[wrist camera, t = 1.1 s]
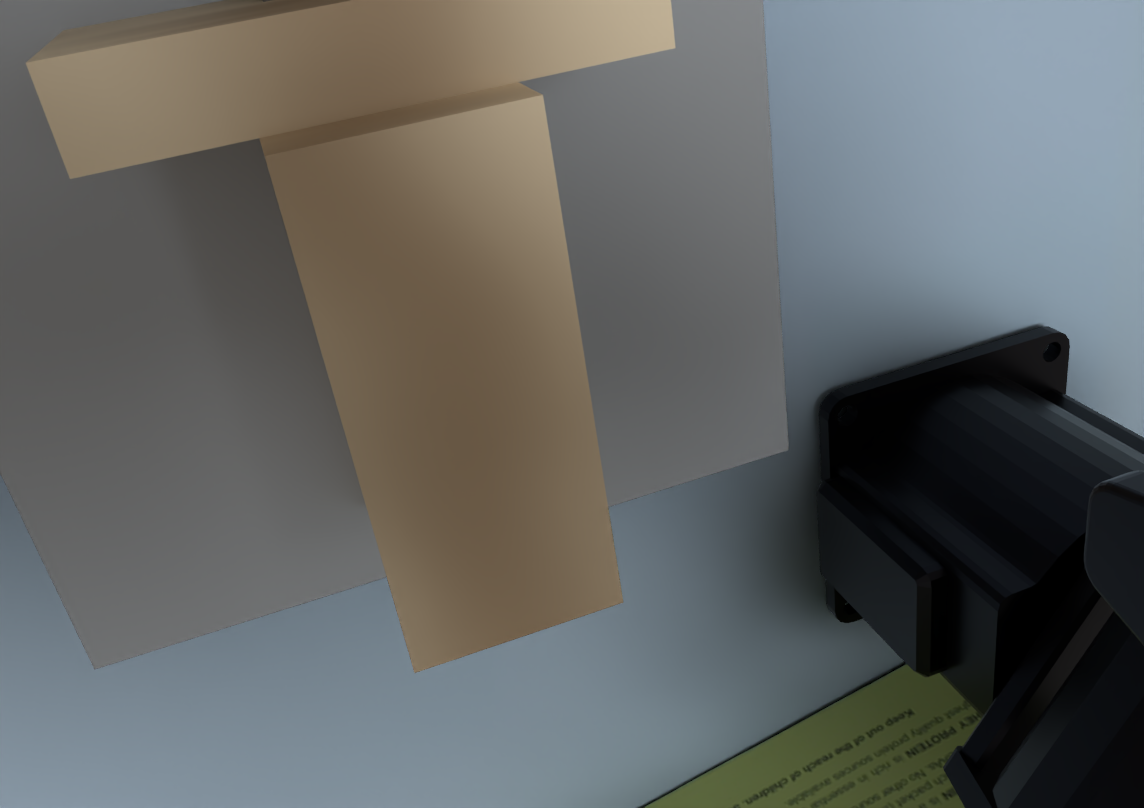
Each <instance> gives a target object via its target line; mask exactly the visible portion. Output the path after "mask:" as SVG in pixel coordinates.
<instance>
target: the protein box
mask: <svg viewBox="0 0 1144 808" xmlns="http://www.w3.org/2000/svg"><path fill="white" fill-rule="evenodd" d="M981 719H982V716H981V715H980V714H979V713H978V712H977V711H976V710H975V709H974V708H973V707H972V706H971V705H970V704H969V703H968V702H967V701H966V700H965V699H964V698H963V697H962V696H961V695H960V694H959V693H958V692H957V691H956V690H955V689H954V688H953V687H952V686H951V684H950V683H949V682H948V681H947V680H946V679H945V678H944V677H943V676H942V675H941V674H940V673H938V674H935V675H932V676H930V677H924V676H922V675H920V674H918V673H916V672H915V671H913V670H912V669H911V668H910V667H909V666H908V665H907V664H906V665H904V666H902V667H900V668H898V669H897V670H895V671H893V672H891V673H889V674H887V675H885V676H884V677H882V678H880V679H878V680H877V681H875V682H873V683H871V684H870V685H868V686H866V687H864V688H862V689H860V690H858V691H856V692H854V693H853V694H851V695H849V696H847V697H845V698H843V699H842V700H840V701H838V702H836V703H834V704H832V705H831V706H829V707H827V708H825V709H823V710H821V711H820V712H818V713H816V714H814V715H812V716H810V717H809V718H807V719H805V720H803V721H801V722H799V723H798V724H796V725H794V726H792V727H790V728H789V729H787V730H785V731H783V732H781V733H779V734H778V735H776V736H774V737H772V738H770V739H768V740H767V741H765V742H763V743H761V744H759V745H757V746H755V747H753V748H752V749H750V750H748V751H746V752H744V753H742V754H740V755H738V756H736V757H735V758H733V759H731V760H729V761H727V762H725V763H724V764H722V765H720V766H718V767H716V768H714V769H712V770H711V771H709V772H707V773H705V774H703V775H701V776H700V777H698V778H696V779H694V780H692V781H691V782H689V783H687V784H685V785H683V786H682V787H680V788H678V789H676V790H675V791H673V792H671V793H669V794H667V795H666V796H664V797H662V798H660V799H658V800H656V801H655V802H653V803H651V804H649V805H647V806H645V807H644V808H965V807H964V805H963V803H962V802H961V800H960V798H959V796H958V794H957V793H956V791H955V789H954V787H953V786H952V784H951V782H950V780H949V778H948V777H947V775H946V773H945V771H944V769H943V766H944V765H945V763H946V762H947V760H948V759H949V757H950V756H951V754H952V753H953V751H954V750H955V748H956V747H957V746H963V745H964V744H965V742H966V741H967V739H968V738H969V736H970V735H971V733H972V732H973V730H974V729H975V727H976V726H977V724H978V723H979V721H980V720H981Z"/></svg>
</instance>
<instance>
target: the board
mask: <svg viewBox="0 0 1144 808" xmlns="http://www.w3.org/2000/svg"><path fill="white" fill-rule="evenodd" d="M218 1H223V0H0V474H1V476H2V478H3V480H4V482H5V484H6V486H7V488H8V490H9V493H10V495H11V497H12V499H13V501H14V503H15V505H16V507H17V509H18V511H19V513H20V515H21V517H22V520H23V522H24V524H25V526H26V528H27V530H28V532H29V534H30V536H31V538H32V540H33V542H34V544H35V547H36V549H37V551H38V553H39V555H40V557H41V559H42V561H43V563H44V565H45V567H46V569H47V571H48V574H49V576H50V578H51V580H52V582H53V584H54V586H55V588H56V590H57V592H58V594H59V596H60V598H61V601H62V603H63V605H64V607H65V609H66V611H67V613H68V615H69V617H70V619H71V621H72V623H73V625H74V628H75V630H76V632H77V634H78V636H79V638H80V640H81V642H82V644H83V646H84V648H85V650H86V653H87V655H88V657H89V659H90V661H91V663H92V665H93V667H94V669H98V668H101V667H104V666H107V665H110V664H113V663H117V662H120V661H123V660H126V659H129V658H132V657H136V656H139V655H142V654H145V653H148V652H151V651H155V650H158V649H161V648H164V647H167V646H170V645H174V644H177V643H180V642H183V641H186V640H189V639H193V638H196V637H199V636H202V635H205V634H208V633H212V632H215V631H218V630H221V629H224V628H227V627H231V626H234V625H237V624H240V623H243V622H246V621H250V620H253V619H256V618H259V617H262V616H265V615H269V614H272V613H275V612H278V611H281V610H284V609H288V608H291V607H294V606H297V605H300V604H303V603H307V602H310V601H313V600H316V599H319V598H322V597H326V596H329V595H332V594H335V593H338V592H341V591H344V590H348V589H351V588H354V587H357V586H360V585H363V584H367V583H370V582H373V581H376V580H379V579H382V578H386V577H387V576H386V573H385V569H384V566H383V563H382V559H381V556H380V552H379V549H378V545H377V542H376V539H375V535H374V532H373V528H372V525H371V521H370V518H369V515H368V511H367V508H366V504H365V501H364V497H363V494H362V490H361V487H360V484H359V480H358V477H357V473H356V470H355V466H354V463H353V459H352V456H351V453H350V449H349V446H348V442H347V439H346V435H345V432H344V428H343V425H342V422H341V418H340V415H339V411H338V408H337V404H336V401H335V397H334V394H333V391H332V387H331V384H330V380H329V377H328V373H327V370H326V366H325V363H324V360H323V356H322V353H321V349H320V346H319V342H318V339H317V335H316V332H315V329H314V325H313V322H312V318H311V315H310V311H309V308H308V304H307V301H306V298H305V294H304V291H303V287H302V284H301V280H300V277H299V273H298V270H297V267H296V263H295V260H294V256H293V253H292V249H291V246H290V242H289V239H288V235H287V232H286V229H285V225H284V222H283V218H282V215H281V211H280V208H279V204H278V201H277V198H276V194H275V191H274V187H273V184H272V180H271V177H270V173H269V170H268V167H267V163H266V160H265V156H264V153H263V149H262V146H261V142H260V139H259V138H258V139H253V140H249V141H244V142H239V143H235V144H230V145H225V146H221V147H216V148H212V149H207V150H202V151H198V152H193V153H189V154H184V155H179V156H175V157H170V158H165V159H161V160H156V161H152V162H147V163H142V164H138V165H133V166H128V167H124V168H119V169H115V170H110V171H105V172H101V173H96V174H92V175H87V176H82V177H78V178H73V179H70V178H69V175H68V172H67V170H66V167H65V165H64V162H63V159H62V157H61V154H60V152H59V149H58V146H57V144H56V141H55V139H54V136H53V133H52V131H51V128H50V126H49V123H48V120H47V118H46V115H45V112H44V110H43V107H42V105H41V102H40V99H39V97H38V94H37V92H36V89H35V86H34V84H33V81H32V79H31V76H30V73H29V71H28V68H27V66H26V62H27V61H28V60H29V59H31V58H32V57H33V56H34V55H35V54H36V53H38V52H39V51H40V50H41V49H42V48H43V47H45V46H46V45H47V44H48V43H49V42H50V41H52V40H53V39H54V38H55V37H56V36H57V35H59V34H60V33H61V32H62V31H63V30H68V29H73V28H78V27H84V26H89V25H94V24H100V23H105V22H110V21H116V20H121V19H127V18H132V17H137V16H143V15H148V14H153V13H159V12H164V11H169V10H175V9H180V8H186V7H191V6H196V5H202V4H207V3H212V2H218ZM671 7H672V17H673V27H674V37H675V48H674V49H669V50H664V51H660V52H655V53H650V54H646V55H641V56H637V57H632V58H627V59H623V60H618V61H613V62H609V63H604V64H600V65H595V66H590V67H586V68H581V69H577V70H572V71H567V72H563V73H558V74H553V75H549V76H544V77H540V78H535V79H530V80H526V81H521V82H519V83H521V84H523V85H525V86H527V87H529V88H530V89H532V90H534V91H536V92H538V93H540V94H542V95H543V98H544V105H545V111H546V117H547V124H548V130H549V136H550V143H551V149H552V155H553V162H554V168H555V174H556V181H557V187H558V193H559V200H560V206H561V212H562V218H563V225H564V231H565V237H566V244H567V250H568V256H569V263H570V269H571V275H572V282H573V288H574V294H575V301H576V307H577V313H578V320H579V326H580V332H581V339H582V345H583V351H584V357H585V364H586V370H587V376H588V383H589V389H590V395H591V402H592V408H593V414H594V421H595V427H596V433H597V440H598V446H599V452H600V459H601V465H602V471H603V478H604V484H605V490H606V497H607V503H608V507H610V506H614V505H617V504H620V503H623V502H626V501H629V500H632V499H636V498H639V497H642V496H645V495H648V494H651V493H655V492H658V491H661V490H664V489H667V488H670V487H674V486H677V485H680V484H683V483H686V482H689V481H693V480H696V479H699V478H702V477H705V476H708V475H712V474H715V473H718V472H721V471H724V470H727V469H731V468H734V467H737V466H740V465H743V464H746V463H750V462H753V461H756V460H759V459H762V458H765V457H769V456H772V455H775V454H778V453H781V452H784V451H788V450H789V444H788V427H787V410H786V393H785V375H784V358H783V341H782V323H781V306H780V289H779V271H778V254H777V237H776V220H775V202H774V185H773V168H772V150H771V133H770V116H769V98H768V81H767V64H766V47H765V29H764V12H763V0H671Z"/></svg>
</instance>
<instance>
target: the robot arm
mask: <svg viewBox="0 0 1144 808" xmlns="http://www.w3.org/2000/svg"><path fill="white" fill-rule="evenodd" d="M1048 345H1049V346H1048ZM1047 346H1048V349H1047V350H1046V351H1045V352H1044V349H1045V348H1046V347H1047ZM1069 348H1070V345H1069V339H1068V338H1067V336H1066V335H1065V334H1063V333H1061V332H1059V331H1057V330H1055V329H1053V328H1050V327H1040V328H1037V329H1034V330H1030V331H1027V332H1024V333H1021V334H1017V335H1014V336H1011V337H1007V338H1004V339H1001V340H998V341H994V342H991V343H988V344H985V345H981V346H978V347H975V348H971V349H968V350H965V351H962V352H958V353H955V354H952V355H948V356H945V357H942V358H939V359H935V360H932V361H929V362H926V363H922V364H919V365H916V366H912V367H909V368H906V369H903V370H899V371H896V372H893V373H890V374H886V375H883V376H880V377H876V378H873V379H870V380H867V381H863V382H860V383H857V384H853V385H850V386H847V387H844V388H840V389H837V390H835V391H833V392H831V393H830V394H829V395H828V396H827V397H826V398H825V399H824V400H823V402H822V404H821V406H820V411H819V429H820V454H821V478H822V482H821V483H820V485H819V488H818V491H817V509H818V532H819V554H820V572H821V574H822V576H823V577H824V578H825V579H826V600H827V606H828V609H829V610H830V611H831V612H832V614H833V615H834V616H835V617H836V618H837V619H838V620H839V621H840V622H844V623H849V622H854V621H857V620H859V619H862V618H863V619H864V620H865V621H866V622H867V623H868V624H869V625H870V626H871V627H872V628H873V629H874V630H875V631H876V632H877V633H878V634H879V635H880V636H881V637H882V638H883V640H884V641H885V642H886V643H887V644H888V645H889V646H890V647H891V648H892V649H893V650H894V651H895V652H896V653H897V654H898V655H899V656H900V657H901V658H902V659H903V660H904V662H905V663H906V664H907V665H908V666H909V667H910V668H911V669H912V670H913V671H915V672H916V673H918V674H920V675H922V676H924V677H930V676H932V675H935V674H938V673H940V674H941V675H942V676H943V677H944V678H945V679H946V680H947V681H948V682H949V683H950V684H951V686H952V687H953V688H954V689H955V690H956V691H957V692H958V693H959V694H960V695H961V696H962V697H963V698H964V699H965V700H966V701H967V702H968V703H969V704H970V705H971V706H972V707H973V708H974V709H975V710H976V711H977V712H978V713H979V714H980V715H981V716H982V719H981V720H980V721H979V723H978V724H977V726H976V727H975V729H974V730H973V732H972V733H971V735H970V736H969V738H968V739H967V741H966V742H965V744H964V745H963V746H957V747H956V748H955V750H954V751H953V753H952V754H951V756H950V757H949V759H948V760H947V762H946V763H945V765H944V766H943V769H944V771H945V773H946V775H947V777H948V778H949V780H950V782H951V784H952V786H953V787H954V789H955V791H956V793H957V794H958V796H959V798H960V800H961V802H962V803H963V805H964V807H965V808H1144V438H1143V437H1142V436H1140V435H1138V434H1136V433H1134V432H1133V431H1131V430H1129V429H1127V428H1125V427H1123V426H1122V425H1120V424H1118V423H1116V422H1114V421H1112V420H1111V419H1109V418H1107V417H1105V416H1103V415H1101V414H1100V413H1098V412H1096V411H1094V410H1092V409H1091V408H1089V407H1087V406H1085V405H1083V404H1081V403H1080V402H1078V401H1076V400H1074V399H1072V398H1070V397H1069V396H1067V395H1066V383H1067V371H1068V360H1069ZM846 406H848V409H847V412H846V413H845V414H844V416H842V417H840V418H838V415H839V413H840V411H841V410H842V409H843V408H844V407H846ZM847 602H848V603H847ZM846 603H847V604H846ZM845 604H846V605H845Z"/></svg>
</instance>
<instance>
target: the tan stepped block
mask: <svg viewBox="0 0 1144 808" xmlns="http://www.w3.org/2000/svg"><path fill="white" fill-rule="evenodd" d="M674 48H675V37H674V27H673V17H672V7H671V0H223V1H218V2H212V3H207V4H202V5H196V6H191V7H186V8H180V9H175V10H169V11H164V12H159V13H153V14H148V15H143V16H137V17H132V18H127V19H121V20H116V21H110V22H105V23H100V24H94V25H89V26H84V27H78V28H73V29H68V30H63V31H62V32H61V33H60V34H59V35H57V36H56V37H55V38H54V39H53V40H52V41H50V42H49V43H48V44H47V45H46V46H45V47H43V48H42V49H41V50H40V51H39V52H38V53H36V54H35V55H34V56H33V57H32V58H31V59H29V60H28V61H27V62H26V66H27V68H28V71H29V73H30V76H31V79H32V81H33V84H34V86H35V89H36V92H37V94H38V97H39V99H40V102H41V105H42V107H43V110H44V112H45V115H46V118H47V120H48V123H49V126H50V128H51V131H52V133H53V136H54V139H55V141H56V144H57V146H58V149H59V152H60V154H61V157H62V159H63V162H64V165H65V167H66V170H67V172H68V175H69V178H70V179H73V178H78V177H82V176H87V175H92V174H96V173H101V172H105V171H110V170H115V169H119V168H124V167H128V166H133V165H138V164H142V163H147V162H152V161H156V160H161V159H165V158H170V157H175V156H179V155H184V154H189V153H193V152H198V151H202V150H207V149H212V148H216V147H221V146H225V145H230V144H235V143H239V142H244V141H249V140H253V139H258V138H259V139H260V142H261V146H262V149H263V153H264V156H265V160H266V163H267V167H268V170H269V173H270V177H271V180H272V184H273V187H274V191H275V194H276V198H277V201H278V204H279V208H280V211H281V215H282V218H283V222H284V225H285V229H286V232H287V235H288V239H289V242H290V246H291V249H292V253H293V256H294V260H295V263H296V267H297V270H298V273H299V277H300V280H301V284H302V287H303V291H304V294H305V298H306V301H307V304H308V308H309V311H310V315H311V318H312V322H313V325H314V329H315V332H316V335H317V339H318V342H319V346H320V349H321V353H322V356H323V360H324V363H325V366H326V370H327V373H328V377H329V380H330V384H331V387H332V391H333V394H334V397H335V401H336V404H337V408H338V411H339V415H340V418H341V422H342V425H343V428H344V432H345V435H346V439H347V442H348V446H349V449H350V453H351V456H352V459H353V463H354V466H355V470H356V473H357V477H358V480H359V484H360V487H361V490H362V494H363V497H364V501H365V504H366V508H367V511H368V515H369V518H370V521H371V525H372V528H373V532H374V535H375V539H376V542H377V545H378V549H379V552H380V556H381V559H382V563H383V566H384V569H385V573H386V576H387V580H388V583H389V587H390V590H391V593H392V597H393V600H394V604H395V607H396V611H397V614H398V617H399V621H400V624H401V628H402V631H403V635H404V638H405V642H406V645H407V648H408V652H409V655H410V659H411V662H412V666H413V669H414V672H415V673H416V672H419V671H422V670H425V669H428V668H431V667H434V666H437V665H440V664H443V663H446V662H449V661H452V660H455V659H458V658H461V657H464V656H466V655H469V654H472V653H475V652H478V651H481V650H484V649H487V648H490V647H493V646H496V645H499V644H502V643H505V642H508V641H511V640H514V639H517V638H520V637H523V636H526V635H529V634H531V633H534V632H537V631H540V630H543V629H546V628H549V627H552V626H555V625H558V624H561V623H564V622H567V621H570V620H573V619H576V618H579V617H582V616H585V615H588V614H591V613H594V612H596V611H599V610H602V609H605V608H608V607H611V606H614V605H617V604H620V603H623V598H622V591H621V585H620V579H619V572H618V566H617V560H616V553H615V547H614V541H613V534H612V528H611V522H610V515H609V509H608V503H607V497H606V490H605V484H604V478H603V471H602V465H601V459H600V452H599V446H598V440H597V433H596V427H595V421H594V414H593V408H592V402H591V395H590V389H589V383H588V376H587V370H586V364H585V357H584V351H583V345H582V339H581V332H580V326H579V320H578V313H577V307H576V301H575V294H574V288H573V282H572V275H571V269H570V263H569V256H568V250H567V244H566V237H565V231H564V225H563V218H562V212H561V206H560V200H559V193H558V187H557V181H556V174H555V168H554V162H553V155H552V149H551V143H550V136H549V130H548V124H547V117H546V111H545V105H544V98H543V95H542V94H540V93H538V92H536V91H534V90H532V89H530V88H529V87H527V86H525V85H523V84H521V83H519V82H521V81H526V80H530V79H535V78H540V77H544V76H549V75H553V74H558V73H563V72H567V71H572V70H577V69H581V68H586V67H590V66H595V65H600V64H604V63H609V62H613V61H618V60H623V59H627V58H632V57H637V56H641V55H646V54H650V53H655V52H660V51H664V50H669V49H674Z"/></svg>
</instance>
